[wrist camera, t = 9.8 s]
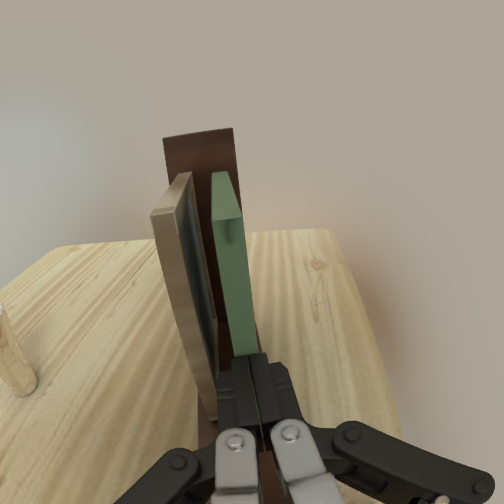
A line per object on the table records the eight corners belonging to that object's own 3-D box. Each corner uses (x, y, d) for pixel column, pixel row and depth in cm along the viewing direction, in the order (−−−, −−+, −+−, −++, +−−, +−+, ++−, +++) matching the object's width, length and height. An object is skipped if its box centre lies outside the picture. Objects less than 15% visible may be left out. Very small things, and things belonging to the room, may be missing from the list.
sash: (268, 436, 15) (242, 215, 10) (251, 439, 15) (211, 219, 10) (248, 333, 24) (227, 170, 19) (236, 335, 24) (211, 172, 19)
